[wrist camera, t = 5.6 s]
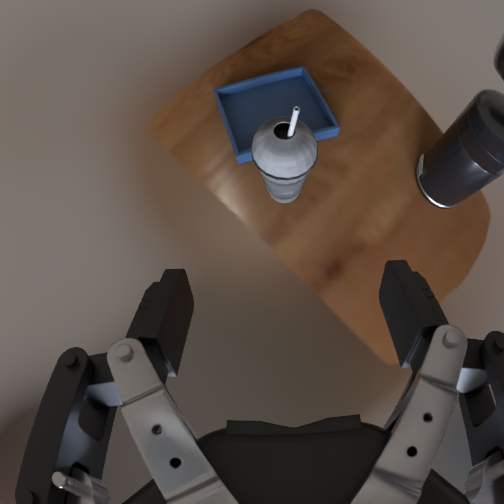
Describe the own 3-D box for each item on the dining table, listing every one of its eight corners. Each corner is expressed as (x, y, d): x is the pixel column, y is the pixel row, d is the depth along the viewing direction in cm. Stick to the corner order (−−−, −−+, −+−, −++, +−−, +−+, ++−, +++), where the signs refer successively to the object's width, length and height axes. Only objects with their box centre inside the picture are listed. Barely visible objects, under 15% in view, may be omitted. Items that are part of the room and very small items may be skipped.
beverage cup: (276, 157, 43) (270, 63, 23) (318, 181, 41) (342, 95, 22) (249, 195, 42) (223, 114, 22) (292, 221, 41) (300, 153, 21)
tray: (303, 74, 45) (304, 65, 43) (337, 135, 42) (340, 127, 40) (215, 98, 46) (212, 89, 43) (238, 164, 43) (236, 157, 41)
